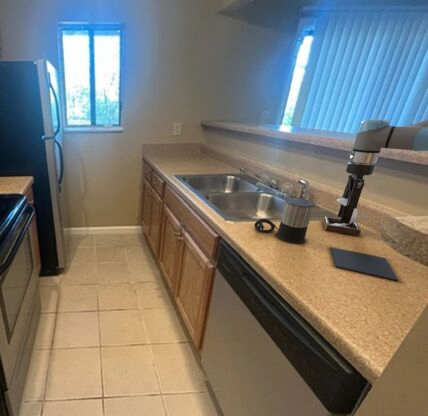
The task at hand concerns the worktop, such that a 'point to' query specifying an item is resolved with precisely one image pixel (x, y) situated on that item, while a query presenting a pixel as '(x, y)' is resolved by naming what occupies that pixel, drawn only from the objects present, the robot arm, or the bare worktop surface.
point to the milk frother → (291, 220)
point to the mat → (363, 263)
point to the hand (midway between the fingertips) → (343, 219)
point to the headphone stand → (354, 215)
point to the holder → (351, 231)
